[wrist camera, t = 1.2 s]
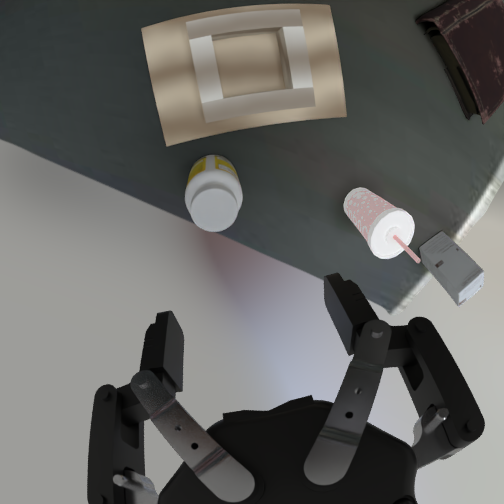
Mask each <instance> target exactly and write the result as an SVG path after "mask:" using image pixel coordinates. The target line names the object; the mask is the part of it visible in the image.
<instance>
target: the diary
mask: <svg viewBox="0 0 504 504" xmlns="http://www.w3.org/2000/svg"><path fill="white" fill-rule="evenodd" d="M425 21H429V22H434V23H435V24H434V25H433V26H431V27H430V28H429V29H428V30H427V31H426V33H429V32H430V31H432V30H436V29H437V30H439V31H440V32H438V33H437V34H435V35H434V36H433V37H431V40H432V41H433V43H434V45H435V46H436V48H437V50H438V52H439V53H440V55H441V57H442V59H443V61H444V63H445V64H446V66H447V68H445V69H444V70H445V72H446V74H447V76H448V78H449V80H450V83H451V85H452V87H453V89H454V91H455V93H456V96H457V98H458V101H459V103H460V105H461V107H462V110H463V112H464V114H465V116H466V117H467V119H468V120H470V117H471V116H472V114H473V113H474V114H478V115H481V119H482V124H485V122H486V121H487V120H488V119H489V118H490V117H491V116H492V114H493V113H494V112H495V111H496V110H497V109H498V107H499V106H500V105H501V104H502V103H503V101H504V3H503V2H502V0H449V1H447V2H446V3H444V4H442V5H441V6H439V7H437V8H435V9H433V10H431V11H429V12H428V13H426V14H424V15H422V16H421V17H420V18H418V19H417V20H416V21H415V22H416V24H417V25H418V24H419V23H421V22H425ZM426 33H425V34H426ZM425 34H424V35H425Z"/></svg>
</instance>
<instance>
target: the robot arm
mask: <svg viewBox="0 0 504 504" xmlns="http://www.w3.org/2000/svg"><path fill="white" fill-rule="evenodd" d="M324 299H325V305H326V307H327V310H328V312H329V314H330V316H331V318H332V321H333V323H334V325H335V327H336V329H337V331H338V333H339V335H340V338H341V340H342V342H343V344H344V346H345V349H346V351H347V353H348V355H349V356H350V355H352V354H354V357H353V359H352V361H351V362H350V364H349V367H348V369H347V372H346V375H345V377H344V380H343V382H342V385H341V387H340V390H339V392H338V395H337V397H336V399H335V402H334V403H332V402H329V401H323V400H313V398H312V395H310V396H306V397H302V398H298V399H294V400H290V401H288V402H286V403H284V404H282V405H280V406H278V407H276V408H273V409H271V410H269V411H254V410H252V411H251V410H242V411H236V412H229V413H223V420H220V421H218V422H216V423H215V424H213V425H212V426H211V427H209V428H208V429H207V430H206V431H205V430H204V429H203V428H202V427H201V426H200V425H199V424H198V423H197V422H196V421H195V419H194V418H193V417H192V416H191V415H190V414H189V413H188V412H187V411H186V410H185V409H184V408H183V407H182V406H181V405H180V403H179V402H178V401H177V400H176V399H175V395H176V394H175V393H176V392H182V391H183V353H184V335H183V332H182V329H181V327H180V325H179V323H178V322H177V320H176V318H175V316H174V314H173V312H172V311H166V312H161V313H157V316H156V322H155V323H154V324H151V325H150V326H149V328H148V329H147V331H146V334H145V339H144V340H145V341H144V346H143V347H144V348H143V351H142V358H141V364H140V371H139V372H138V373H136V374H135V375H134V376H133V378H132V379H131V382H130V383H129V384H127V385H125V386H122V387H119V388H117V389H116V388H115V387H114V386H113V385H110V384H107V385H103V386H101V387H100V388H99V389H98V390H97V392H96V394H95V398H94V404H93V412H92V421H91V429H90V440H89V455H88V480H87V481H88V482H87V483H88V484H87V485H88V486H87V498H88V503H89V504H418V503H417V501H416V498H415V494H414V484H415V477H416V472H417V470H418V469H419V468H422V467H424V466H426V465H428V464H430V463H432V462H434V461H436V460H438V459H447V458H449V457H451V456H452V455H454V454H455V453H457V452H459V451H460V450H462V449H463V448H465V447H466V446H468V445H469V444H471V443H472V442H474V441H475V440H477V439H478V438H479V437H480V436H481V435H482V433H483V431H484V426H485V422H484V418H483V416H482V414H481V411H480V409H479V407H478V405H477V403H476V401H475V399H474V397H473V395H472V392H471V390H470V388H469V387H468V385H467V383H466V381H465V379H464V377H463V375H462V373H461V372H460V369H459V368H458V366H457V364H456V363H455V361H454V359H453V357H452V355H451V353H450V352H449V350H448V348H447V347H446V345H445V343H444V342H443V340H442V338H441V337H440V335H439V333H438V332H437V330H436V329H435V327H434V325H433V324H432V322H431V321H430V320H428V319H427V318H424V317H415V318H413V319H411V320H410V321H409V323H408V325H404V326H390V325H389V324H388V323H386V322H385V321H383V320H379V318H378V317H377V315H376V313H375V312H374V310H373V309H372V307H371V305H370V304H369V302H368V301H367V299H366V298H365V296H364V294H363V293H362V291H361V290H360V288H359V287H358V285H357V284H355V283H354V282H352V281H351V280H347V281H344V280H343V279H342V277H341V276H340V274H339V273H334V274H331V275H327V276H324ZM388 367H398V368H399V371H400V373H401V375H402V377H403V379H404V382H405V384H406V386H407V388H408V391H409V393H410V396H411V398H412V401H413V403H414V405H415V408H416V410H417V413H418V415H419V419H418V421H417V422H416V423H415V425H414V431H413V432H414V443H413V445H412V447H410V446H409V445H408V444H407V443H406V442H404V441H402V440H400V439H398V438H396V437H394V436H392V435H390V434H389V433H387V432H385V431H383V430H381V429H379V428H377V427H376V426H374V425H372V424H370V423H368V422H367V420H368V417H369V414H370V411H371V408H372V405H373V402H374V399H375V396H376V393H377V390H378V386H379V383H380V379H381V376H382V372H383V368H388ZM148 419H151V421H152V422H153V423H154V425H155V426H156V427H157V429H158V430H159V431H160V433H161V434H162V435H163V436H164V438H165V439H166V440H167V441H168V443H169V444H170V445H171V446H172V447H173V448H174V450H175V451H176V452H177V453H178V454H179V456H180V457H181V458H182V459H183V460H184V462H183V463H182V464H181V466H180V467H179V469H178V470H177V471H176V473H175V474H174V475H173V477H172V478H171V479H170V480H169V482H168V483H167V484H166V486H165V487H164V488H163V490H162V491H161V492H160V494H159V495H157V493H156V491H155V488H154V484H153V483H152V481H151V480H150V479H149V478H147V477H145V464H144V463H145V462H144V421H145V420H148Z"/></svg>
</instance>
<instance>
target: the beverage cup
mask: <svg viewBox="0 0 504 504" xmlns="http://www.w3.org/2000/svg"><path fill="white" fill-rule="evenodd" d="M344 211H345V213H346V214H347V216H348V217H349V218H350V220H351V221H352V222H353V223H354V225H355V226H356V227H357V229H358V230H359V231H360V233H361V234H362V235H363V237H364V238H365V239H366V241H367V242H368V245H369V247H370V249H371V251H372V252H373V254H374V255H376V256H377V257H379V258H381V259H390V258H392V257H395V256H397V255H399V254H400V253H401V252H402V251H404V250H405V251H406V252H407V253H408V254H409V255H410V256H411V257H412V258H413V259H414V260H415V261H416V262H417V263H419V262H420V261H421V260H420V259H419V258H418V257H417V256H416V255H415V253H414V252H413V251H412V250H411V249H410V248H409V247H408V245H409V243H410V242H411V239H412V237H413V234H414V221H413V219H412V216H411V215H409V214H408V213H407V212H406V211H404V210H403V209H400V208H396V207H395V206H393V205H392V204H390V203H388V202H387V201H385V200H384V199H382V198H381V197H379V196H377V195H376V194H374V193H372V192H371V191H369V190H368V189H366V188H361V187H360V188H356V189H353V190H352V191H351V192H349V193H348V195H347V196H346V198H345V201H344Z"/></svg>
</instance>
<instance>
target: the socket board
mask: <svg viewBox="0 0 504 504" xmlns="http://www.w3.org/2000/svg"><path fill="white" fill-rule="evenodd" d="M141 30H142V36H143V41H144V47H145V52H146V57H147V62H148V67H149V72H150V77H151V82H152V86H153V91H154V96H155V100H156V104H157V109H158V113H159V117H160V122H161V126H162V130H163V134H164V138H165V142H166V146H170V145H174V144H178V143H182V142H186V141H190V140H194V139H198V138H202V137H207V136H211V135H216V134H220V133H225V132H230V131H235V130H241V129H246V128H252V127H258V126H264V125H271V124H278V123H285V122H293V121H302V120H311V119H322V118H335V117H347V115H346V105H345V95H344V87H343V78H342V71H341V64H340V57H339V51H338V45H337V39H336V34H335V29H334V24H333V19H332V14H331V9H330V5H320V4H268V5H254V6H243V7H235V8H227V9H220V10H214V11H208V12H203V13H198V14H193V15H189V16H184V17H180V18H176V19H172V20H168V21H165V22H161V23H158V24H154V25H151V26H148V27H145V28H142V29H141Z"/></svg>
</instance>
